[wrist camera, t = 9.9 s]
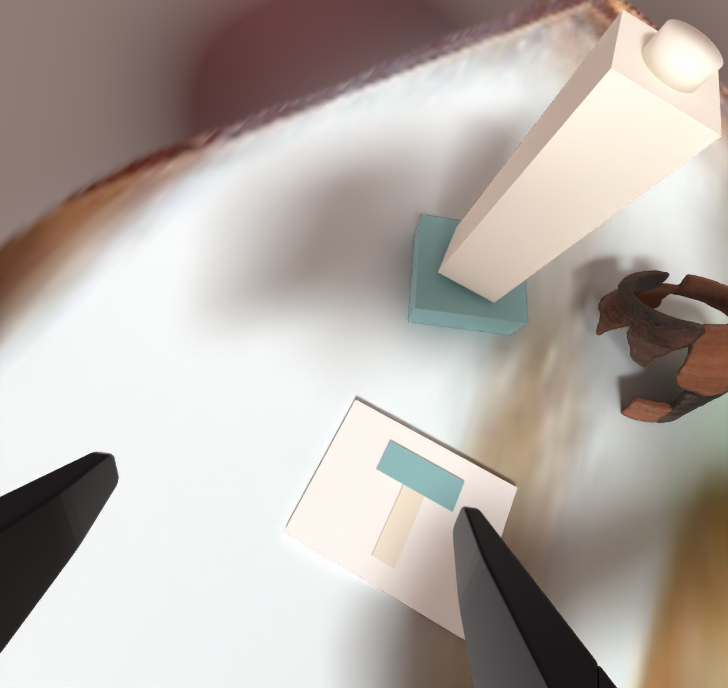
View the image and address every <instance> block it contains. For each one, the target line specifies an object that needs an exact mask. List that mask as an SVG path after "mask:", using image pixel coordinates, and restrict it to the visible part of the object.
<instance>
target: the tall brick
mask: <svg viewBox="0 0 728 688" xmlns="http://www.w3.org/2000/svg"><path fill="white" fill-rule="evenodd" d="M722 65H723V59H722V56H721V54H720V52H719V51H718V49H717V48H716V46H715V45H714V44H713V43H712V42H711V41H710V40H709V39H708V38H707V37H706V36H705V35H704V34H703V33H701V32H700V31H698V30H697V29H696V28H694V27H692V26H691V25H689V24H687V23H685V22H683V21H680V20H675V19H671V20H668V21H667V22H666V23H665V24H664V25H663V26H662V28H661V29H660V30H659V31H656V30H655V29H653V28H651V27H650V26H648V25H647V24H645V23H644V22H642V21H640V20H639V19H637V18H636V17H634V16H632V15H631V14H629V13H628V12H626V11H625V10H622V11H621V12H620V14H619V15H618V16H617V18H616V19H615V20H614V22H613V23H612V24H611V26H610V27H609V28H608V29H607V31H606V32H605V33H604V35H603V36H602V37H601V39H600V40H599V41H598V43H597V44H596V45H595V47H594V48H593V49H592V50H591V52H590V53H589V54H588V56H587V57H586V58H585V60H584V61H583V62H582V64H581V65H580V66H579V67H578V69H577V70H576V71H575V73H574V74H573V75H572V77H571V78H570V79H569V81H568V82H567V83H566V84H565V86H564V87H563V88H562V90H561V91H560V92H559V94H558V95H557V96H556V98H555V99H554V100H553V102H552V103H551V104H550V105H549V107H548V108H547V109H546V111H545V112H544V113H543V115H542V116H541V117H540V119H539V120H538V121H537V122H536V124H535V125H534V126H533V128H532V129H531V130H530V132H529V133H528V134H527V136H526V137H525V138H524V139H523V141H522V142H521V143H520V145H519V146H518V147H517V149H516V150H515V151H514V153H513V154H512V155H511V156H510V158H509V159H508V160H507V162H506V163H505V164H504V166H503V167H502V168H501V170H500V171H499V172H498V174H497V175H496V176H495V177H494V179H493V180H492V181H491V183H490V184H489V185H488V187H487V188H486V189H485V191H484V192H483V193H482V194H481V196H480V197H479V198H478V200H477V201H476V202H475V204H474V205H473V206H472V208H471V209H470V210H469V211H468V213H467V214H466V215H465V217H464V218H463V219H462V221H461V222H460V223H459V225H458V226H457V227H456V230H455V232H454V234H453V237H452V239H451V242H450V244H449V247H448V249H447V251H446V254H445V256H444V259H443V261H442V264H441V266H440V268H439V271H438V273H440V274H442V275H443V276H445V277H447V278H449V279H451V280H453V281H455V282H456V283H458V284H460V285H462V286H464V287H466V288H468V289H469V290H471V291H473V292H475V293H477V294H479V295H481V296H482V297H484V298H486V299H488V300H490V301H492V302H494V303H495V302H496V301H497V300H499V299H500V298H501V297H503V296H504V295H505V294H507V293H508V292H510V291H511V290H512V289H514V288H515V287H516V286H518V285H519V284H520V283H522V282H523V281H525V280H526V279H527V278H529V277H530V276H531V275H533V274H534V273H535V272H537V271H538V270H540V269H541V268H542V267H544V266H545V265H546V264H548V263H549V262H550V261H552V260H553V259H555V258H556V257H557V256H559V255H560V254H561V253H563V252H564V251H565V250H567V249H568V248H570V247H571V246H572V245H574V244H575V243H576V242H578V241H579V240H580V239H582V238H583V237H584V236H586V235H587V234H589V233H590V232H591V231H593V230H594V229H595V228H597V227H598V226H599V225H601V224H602V223H604V222H605V221H606V220H608V219H609V218H610V217H612V216H613V215H614V214H616V213H617V212H619V211H620V210H621V209H623V208H624V207H625V206H627V205H628V204H629V203H631V202H632V201H634V200H635V199H636V198H638V197H639V196H640V195H642V194H643V193H644V192H646V191H647V190H649V189H650V188H651V187H653V186H654V185H655V184H657V183H658V182H659V181H661V180H662V179H664V178H665V177H666V176H668V175H669V174H670V173H672V172H673V171H674V170H676V169H677V168H679V167H680V166H681V165H683V164H684V163H685V162H687V161H688V160H689V159H691V158H692V157H694V156H695V155H696V154H698V153H699V152H700V151H702V150H703V149H704V148H706V147H707V146H709V145H710V144H711V143H713V142H714V141H715V140H717V139H718V138H719V137H721V117H720V98H719V79H718V69H720V68H721V66H722Z"/></svg>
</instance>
